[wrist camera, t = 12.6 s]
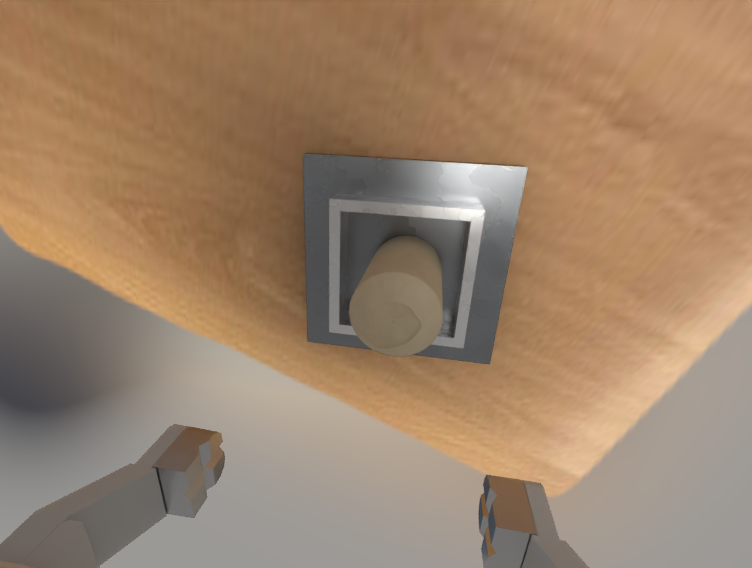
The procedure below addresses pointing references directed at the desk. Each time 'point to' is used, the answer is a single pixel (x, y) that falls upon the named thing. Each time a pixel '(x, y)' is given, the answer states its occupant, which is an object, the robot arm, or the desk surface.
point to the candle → (399, 298)
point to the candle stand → (412, 218)
